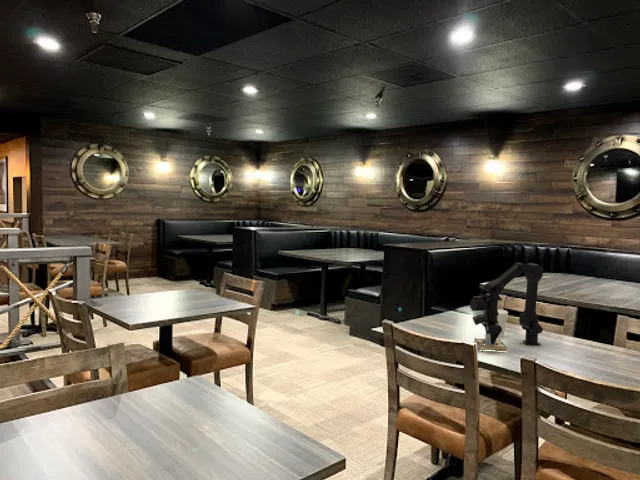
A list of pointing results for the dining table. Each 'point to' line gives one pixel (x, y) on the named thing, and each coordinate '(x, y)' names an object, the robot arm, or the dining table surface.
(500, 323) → the foam cup
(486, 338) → the grey and beige block
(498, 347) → the well
